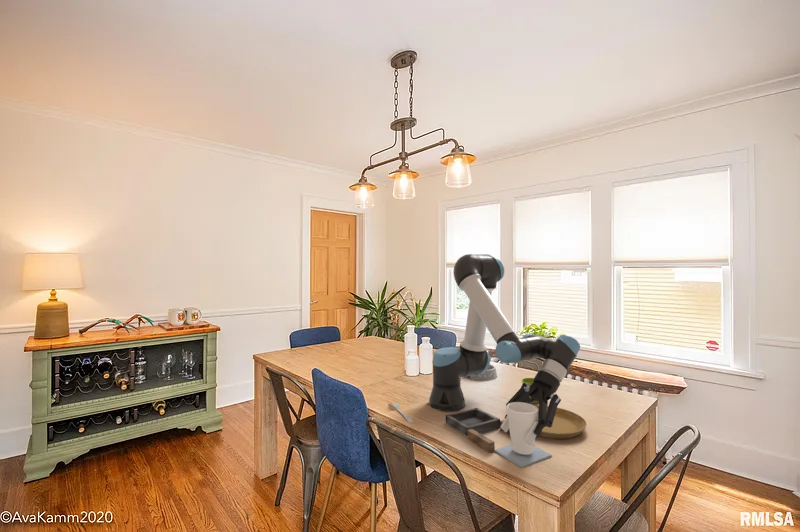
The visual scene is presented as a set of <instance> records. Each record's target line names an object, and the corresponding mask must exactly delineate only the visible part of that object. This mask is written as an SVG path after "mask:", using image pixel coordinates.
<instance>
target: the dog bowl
mask: <svg viewBox="0 0 800 532" xmlns="http://www.w3.org/2000/svg"><path fill="white" fill-rule="evenodd" d="M469 378H470V380H472V381H473V380H474V381H482V382H483V381H485V382H486V381H488V382H489V381H493V380H496V379H497V378H498V373H497V369H496V366H495V365H493V364H491V363H490V365H489V367H488V369H487V370H486V371H485V372H483V373H480V374H478V375H471V376H469Z"/></svg>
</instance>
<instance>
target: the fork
mask: <svg viewBox="0 0 800 532" xmlns="http://www.w3.org/2000/svg"><path fill="white" fill-rule="evenodd" d="M388 405H390V403H388ZM391 406H392V407H393V408H394V409H396V410H397V411H398V412H399V413H400V414H401V415H402V416H403V417H404V418H405V420H406V421H407V422H408V423H411V422H414V419H413V417H410V416H409V415H407V414H406V413H405V412H403V411H401V409H400V404H399V403H398V402H392V403H391Z"/></svg>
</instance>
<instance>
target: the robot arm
mask: <svg viewBox="0 0 800 532" xmlns="http://www.w3.org/2000/svg"><path fill="white" fill-rule="evenodd" d="M504 276H505V266H504V263H503V262H502V260H501V258H499V257H498V256H497V255H493V254H487V253H486V254H485V253H484V254H472V253H469V254H464V255H462V256H460V257H459V258H458V259H457V260H456V262H455V264H454V267H453V278H454V280H455V283H456V284H457V285H456V286H457V287H458V289H459V290H460V291H462V292H464V293H465V295H466V297H467V298H468V299H469V304H468V310H467V319H466V325H465V332H464V338H463V340H462V341H460V342H459V343H460V344H459V348H458V347H454V346H448V347H441V348H438V349H436V350H435V351H434V352H433V355H432V389H431V392H430V395H429V398H428V399H429V400H428V405H429V406H430V408H433V409H435V410H438V411H442V412H443V411H444V412H454V411H455V412H456V411H460V410H462V409H464V408H465V406H466V399H465V396H464V393H463V390H462V387H461V378H466V377H470V376H471V375H478V374H480V373H483V372H485V371H486V370H487V369H488V367H489V365H490V364H491V356H490V355H489V354H490V352H489V351H488V349H487V345H486V344H485V339H486V338H485V337H486V331H487V330H488V332H489V334H490V335H491V336H492V338H493V340H494V341H495V343H496V346H495V352H496V358H497V359H498V361H500V362H501V363H503V364H517V363H518V362H523V361H528V360H529V361H530V360H534V359H543V360H544V362H543V363H542V364H541V366H540V367H539V370H538V371H537V373H536V374H535V376H534V377H533V378H534V382H533V384H532V385H530V386H529V385H526V384H525V383H522V384H521V386H520V388H519V389H518V390H517V391H516V392H515V394H514V395H513V396H512V397H511V398H510V399H509V400H508V401H507V402H506V404H505V405H506V406H507V405H508V404H509V403H513V402H523V403H529V404H531V403H530V402H533V401H538V404H539V405H538V406H539V414H538V420H537V421H538V422H536V421H535V422H534V424H533V426H532V427H531V429H530V431H529V433H528V434H527V436H526V438H525V441H526V442H527V443H528V444H529V445H532V443H533V441H534V440H535V441H536V438H537V437H539V435H540V433H541V431H542V429H543V428H544V427H549V428H550V427H552V424H553V420H554V417H555V413H556V410H557V408H558V405H559V404H560V403H561V401H562V399H561V398H560V396H559V395H558V394H557V393H556V392H557V391H558V390H559V387H560V386H561V383H562V382H563V381H564V378H565V377H566V374H567V373H568V371H569V369H570V367H571V366H572V365H573V362H574V361H575V359H576V358H577V355H578V353H579V351H580V350H581V344H580V343H579V341H578V340H577V339H576V338H575V337H573V336H572V335H569V334H565V333H564V334H560V335H559V336H558V337H557V338H556V339H552V338H549V337H545V336H540V335H538V334H533V333H532V334H531V333H526V334H524V335H523V336H522V337H521V338H519V335H518V334H517V333H516V332H515V329H513V327H512V326H511V324H510V323H509V321H508V319H507V317H506V316H505V315H504V313H503V312H502V311H501V309H500V308H499V306H498V304H497V303H496V301H495V300H494V299H493V297H492V292H493V291H494V290H496V289H497V283H498V282H500V281H501V280H502V279H503V278H504ZM486 329H487V330H486ZM529 390H530V391H529ZM529 396H530V397H531V398H530V397H529ZM548 403H549V404H548ZM547 406H548V410H547ZM546 411H547V413H546ZM503 420H504V422H503V423H502V425H501V428H502V429H503V430H504V431H503V430H502V431H503V432H504V433H507V431H508V429H509V423H508V416H507V413H506V414H505V416H504V419H503ZM507 434H508V433H507Z"/></svg>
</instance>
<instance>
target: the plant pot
mask: <svg viewBox="0 0 800 532" xmlns="http://www.w3.org/2000/svg"><path fill="white" fill-rule="evenodd" d="M534 378H535V377H524V378H521V383H522V384H523V383H525V384H526V385H529V386H530V385H532V384H533V382H534ZM529 391H530V390H529ZM529 397H530V396H529ZM530 398H531V397H530ZM529 404H539V402H538V401H533V402H530V403H529Z"/></svg>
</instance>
